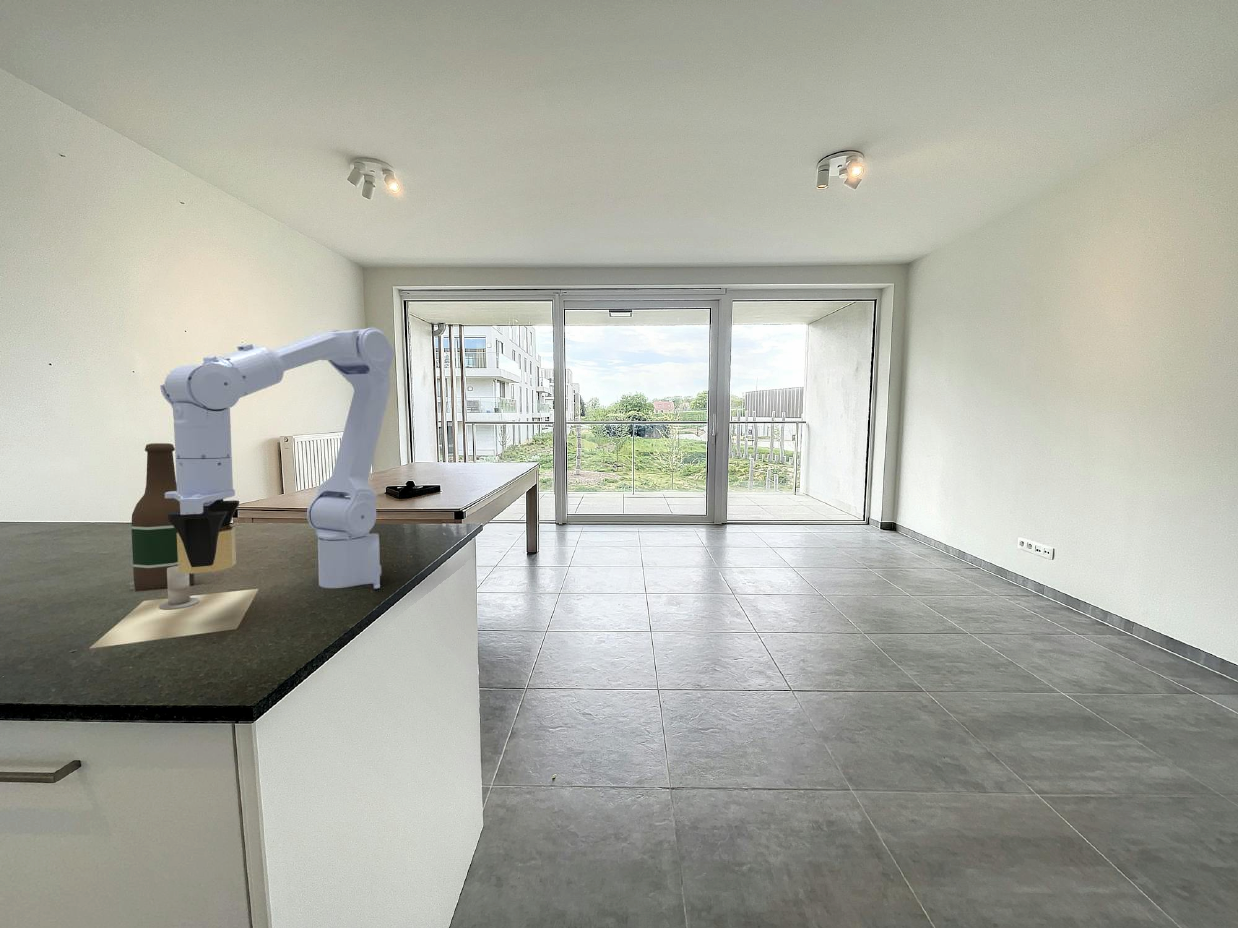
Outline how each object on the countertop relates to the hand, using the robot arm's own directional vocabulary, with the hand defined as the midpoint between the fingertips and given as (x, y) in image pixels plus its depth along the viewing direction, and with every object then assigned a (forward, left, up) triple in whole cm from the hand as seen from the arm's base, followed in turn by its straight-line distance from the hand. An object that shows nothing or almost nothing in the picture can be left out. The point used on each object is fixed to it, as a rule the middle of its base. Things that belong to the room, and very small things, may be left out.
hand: (208, 559), depth 67 cm
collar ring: (0, 0, -1) cm, 1 cm away
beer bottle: (+11, -24, -10) cm, 28 cm away
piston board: (+4, -5, -10) cm, 11 cm away
